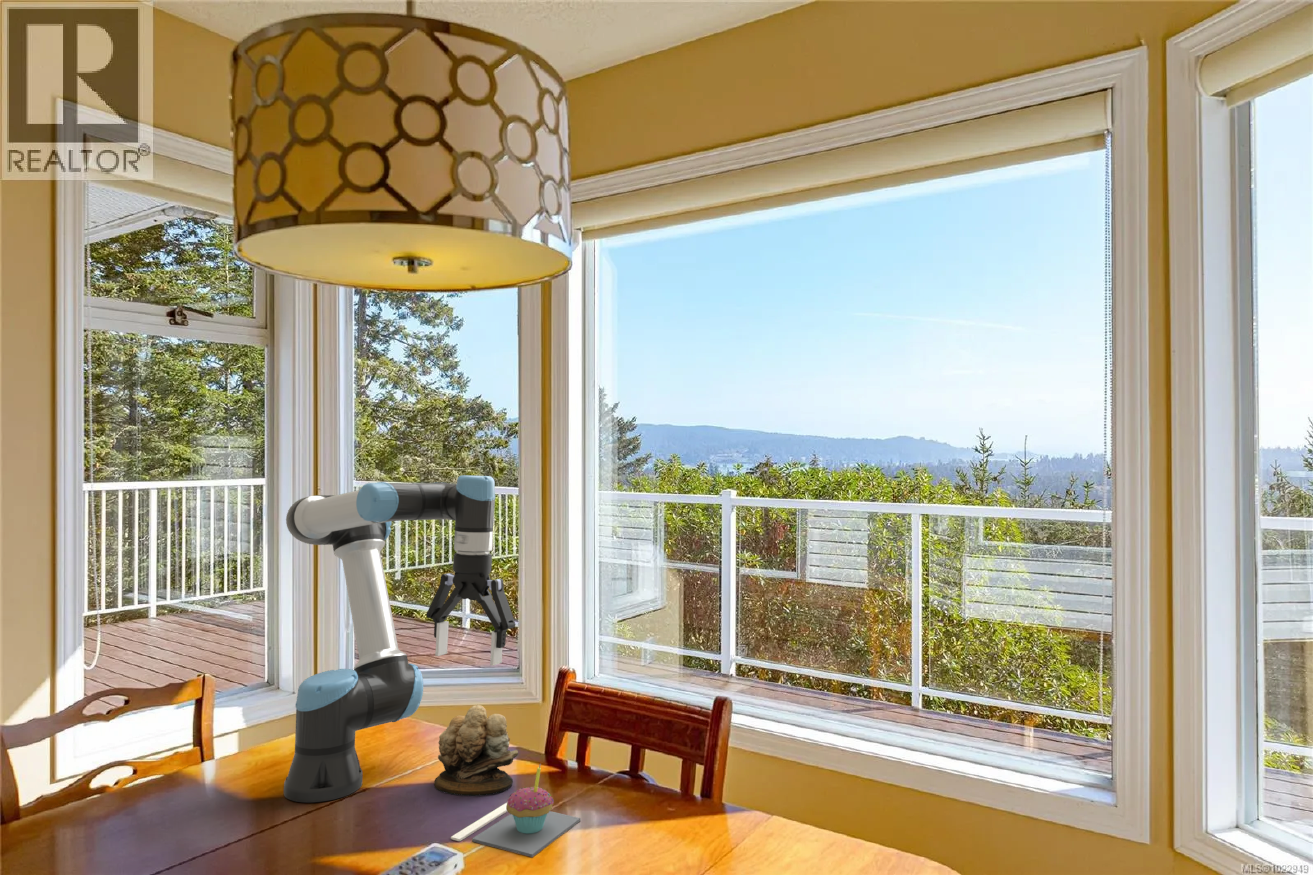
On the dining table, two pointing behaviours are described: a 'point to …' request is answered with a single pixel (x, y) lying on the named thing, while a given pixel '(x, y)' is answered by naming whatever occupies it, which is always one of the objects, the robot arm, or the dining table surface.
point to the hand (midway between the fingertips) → (468, 659)
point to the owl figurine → (475, 754)
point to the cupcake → (530, 807)
